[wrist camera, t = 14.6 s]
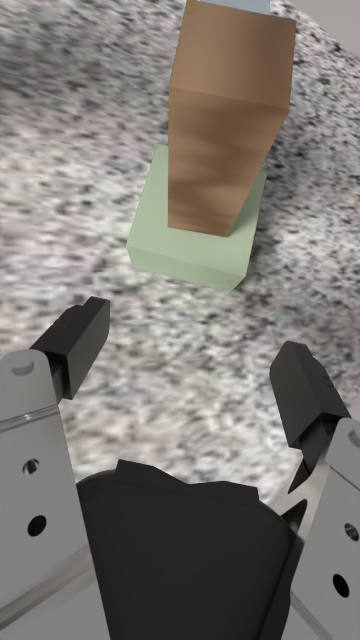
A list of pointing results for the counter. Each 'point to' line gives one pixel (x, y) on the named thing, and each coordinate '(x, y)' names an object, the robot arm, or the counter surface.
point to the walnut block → (224, 110)
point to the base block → (190, 236)
